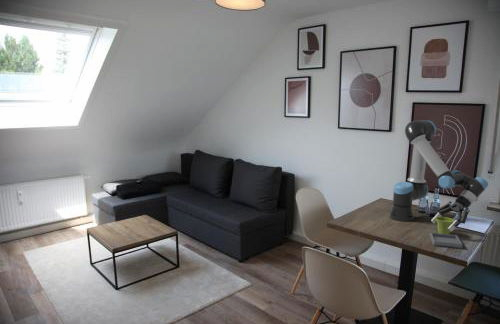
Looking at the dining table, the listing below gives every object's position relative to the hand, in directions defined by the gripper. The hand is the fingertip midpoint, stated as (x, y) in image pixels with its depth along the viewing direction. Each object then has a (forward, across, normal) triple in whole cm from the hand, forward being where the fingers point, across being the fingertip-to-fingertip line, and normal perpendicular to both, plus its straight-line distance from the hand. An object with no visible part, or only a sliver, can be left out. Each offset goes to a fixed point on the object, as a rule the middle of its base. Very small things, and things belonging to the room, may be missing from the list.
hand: (440, 225), depth 200 cm
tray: (+8, -12, +2) cm, 15 cm away
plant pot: (+2, 0, -5) cm, 5 cm away
